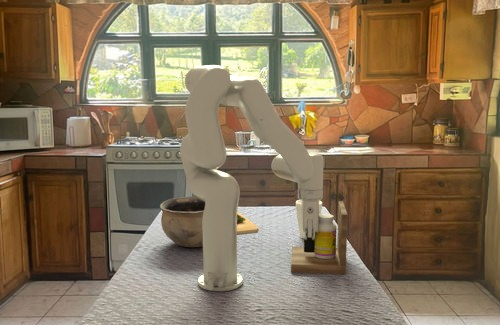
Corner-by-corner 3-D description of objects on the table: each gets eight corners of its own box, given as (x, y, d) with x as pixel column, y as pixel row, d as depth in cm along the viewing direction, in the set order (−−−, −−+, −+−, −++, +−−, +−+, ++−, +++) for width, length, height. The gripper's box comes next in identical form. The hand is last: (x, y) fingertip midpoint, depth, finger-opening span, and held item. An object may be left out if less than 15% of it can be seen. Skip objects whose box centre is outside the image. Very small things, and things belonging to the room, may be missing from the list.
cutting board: (180, 215, 216) (179, 198, 214) (232, 211, 223) (232, 194, 222) (199, 239, 183) (199, 219, 182) (260, 233, 191) (260, 213, 189)
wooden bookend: (345, 274, 148) (347, 214, 145) (290, 272, 150) (291, 213, 147) (341, 255, 164) (343, 201, 161) (292, 254, 166) (292, 200, 163)
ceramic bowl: (235, 248, 171) (235, 205, 169) (174, 259, 161) (173, 213, 159) (208, 231, 191) (208, 192, 188) (153, 240, 180) (151, 199, 178)
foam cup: (291, 238, 182) (291, 203, 180) (301, 231, 190) (301, 198, 188) (316, 242, 178) (316, 206, 175) (325, 235, 186) (325, 200, 184)
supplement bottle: (334, 260, 152) (335, 219, 150) (312, 258, 154) (313, 217, 152) (336, 253, 159) (337, 213, 157) (315, 251, 160) (316, 212, 158)
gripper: (323, 199, 146) (322, 260, 149) (321, 188, 161) (320, 244, 164) (297, 199, 147) (296, 259, 150) (298, 188, 161) (297, 243, 164)
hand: (309, 251), depth 157 cm, fingers closed
